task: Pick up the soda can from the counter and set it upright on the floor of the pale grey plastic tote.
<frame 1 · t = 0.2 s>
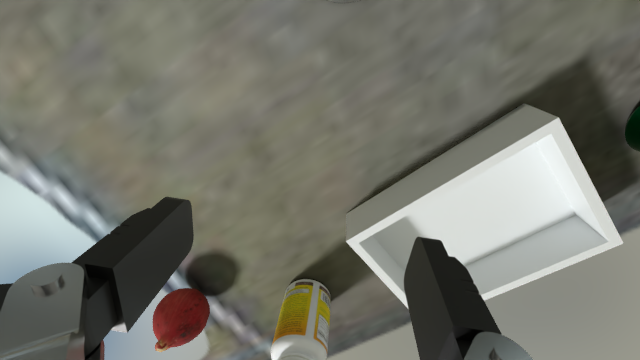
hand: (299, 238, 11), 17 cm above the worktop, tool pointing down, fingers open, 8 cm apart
onion: (197, 289, 38), on the worktop
tote: (460, 213, 29), on the worktop
supplement bottle: (308, 292, 36), on the worktop
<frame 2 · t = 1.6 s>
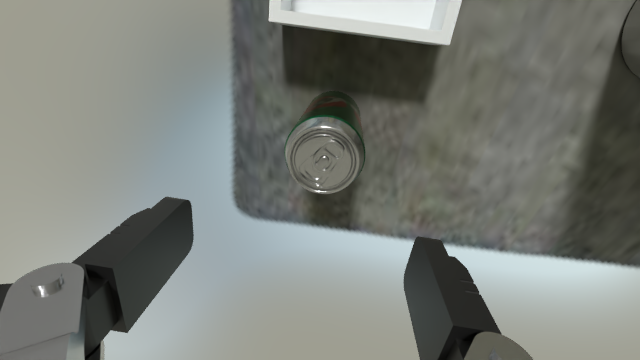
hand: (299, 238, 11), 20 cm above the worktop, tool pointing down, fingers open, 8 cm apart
soda can: (333, 116, 28), on the worktop
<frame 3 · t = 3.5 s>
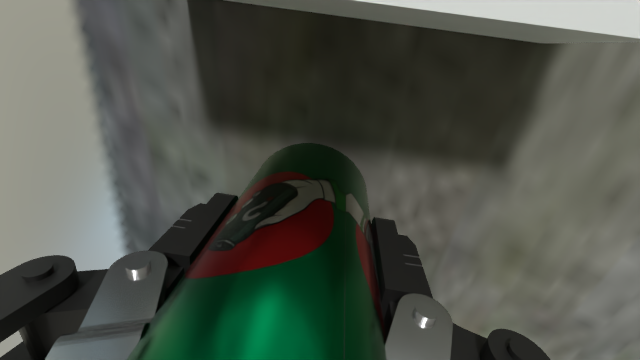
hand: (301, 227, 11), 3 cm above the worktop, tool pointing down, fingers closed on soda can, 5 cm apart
soda can: (311, 189, 14), on the worktop, touching gripper
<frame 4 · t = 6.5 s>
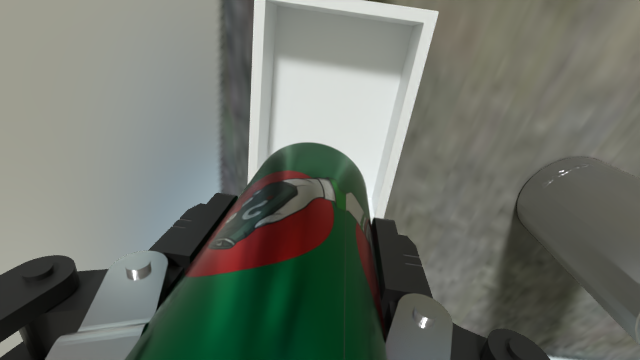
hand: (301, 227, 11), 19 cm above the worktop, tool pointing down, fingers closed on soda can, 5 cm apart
tote: (330, 112, 29), on the worktop
soda can: (312, 188, 14), point 16 cm above the worktop, touching gripper
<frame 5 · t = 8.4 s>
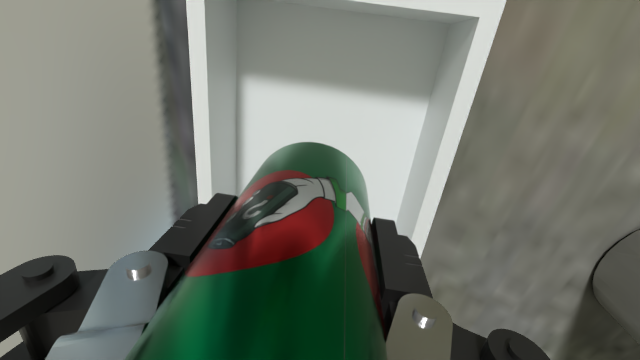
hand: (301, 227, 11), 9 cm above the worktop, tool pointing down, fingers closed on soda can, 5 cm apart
tote: (323, 151, 20), on the worktop
soda can: (312, 188, 14), point 6 cm above the worktop, touching gripper
when the fingers open (5 cm above the worktop, at t = 9.7 s): soda can drops 2 cm, resting on tote.
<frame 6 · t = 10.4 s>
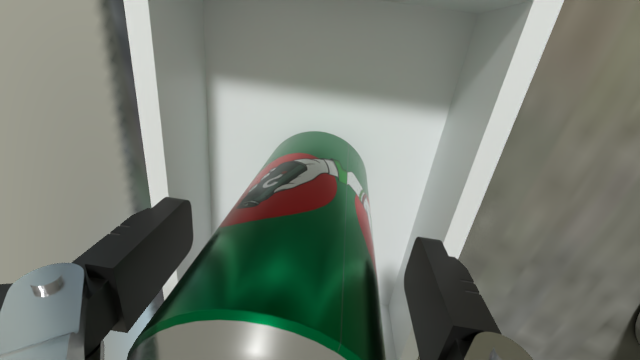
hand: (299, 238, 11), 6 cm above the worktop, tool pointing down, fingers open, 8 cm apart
tote: (316, 171, 16), on the worktop
soda can: (317, 173, 16), resting on tote
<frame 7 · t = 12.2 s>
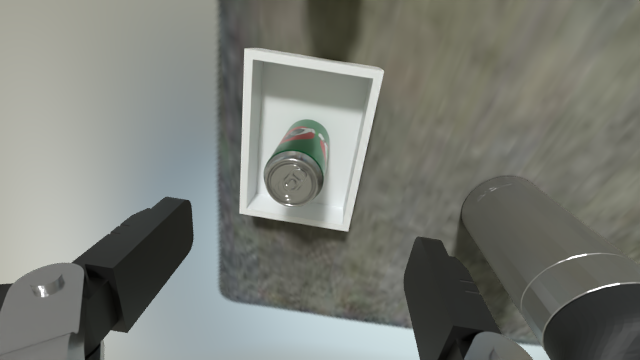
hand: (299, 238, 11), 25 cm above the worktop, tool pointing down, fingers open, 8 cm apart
tote: (307, 138, 35), on the worktop
soda can: (308, 139, 35), resting on tote
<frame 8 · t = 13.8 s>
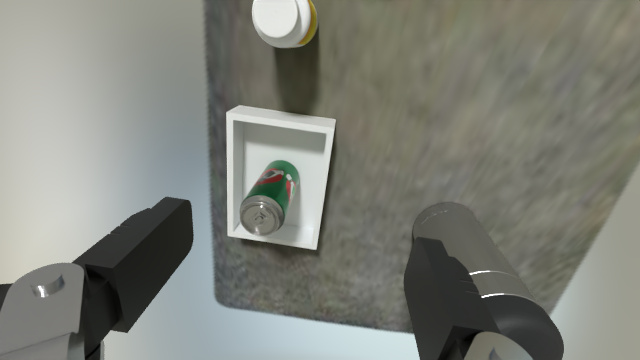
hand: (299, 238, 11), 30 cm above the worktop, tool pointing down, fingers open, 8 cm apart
tote: (282, 173, 43), on the worktop
soda can: (282, 174, 42), resting on tote
supplement bottle: (295, 21, 35), on the worktop
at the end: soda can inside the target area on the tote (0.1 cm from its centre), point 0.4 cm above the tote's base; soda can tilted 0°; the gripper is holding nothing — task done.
